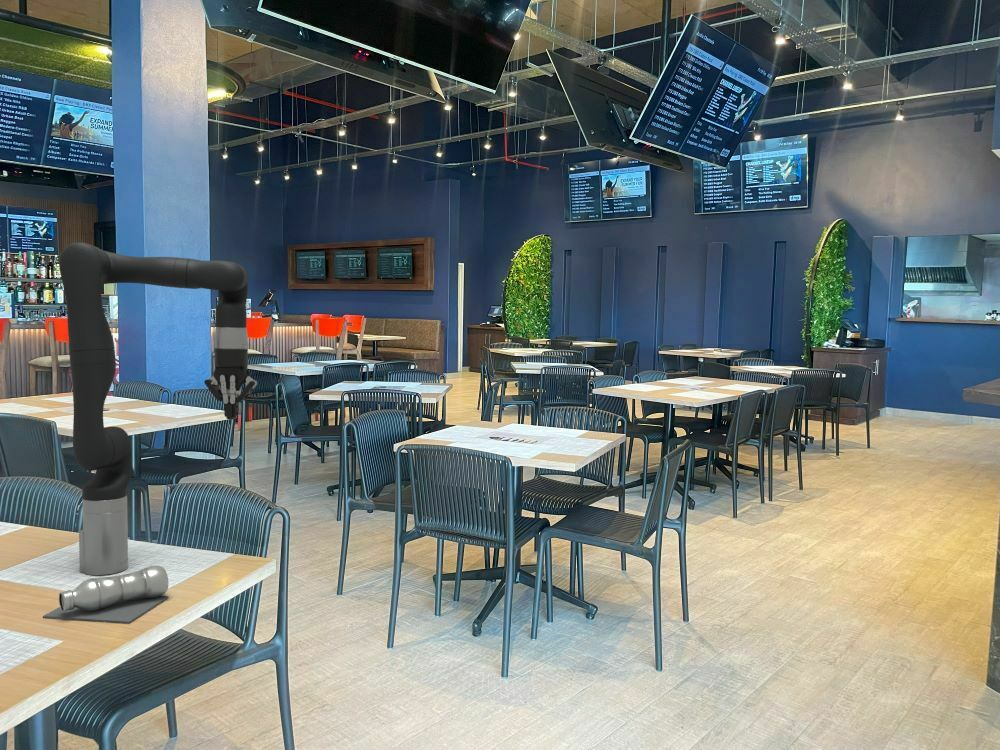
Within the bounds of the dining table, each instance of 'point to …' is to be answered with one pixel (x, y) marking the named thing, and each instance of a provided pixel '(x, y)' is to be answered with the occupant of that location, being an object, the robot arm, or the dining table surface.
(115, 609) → the rubber mat
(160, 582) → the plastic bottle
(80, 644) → the dining table surface
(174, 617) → the dining table surface
